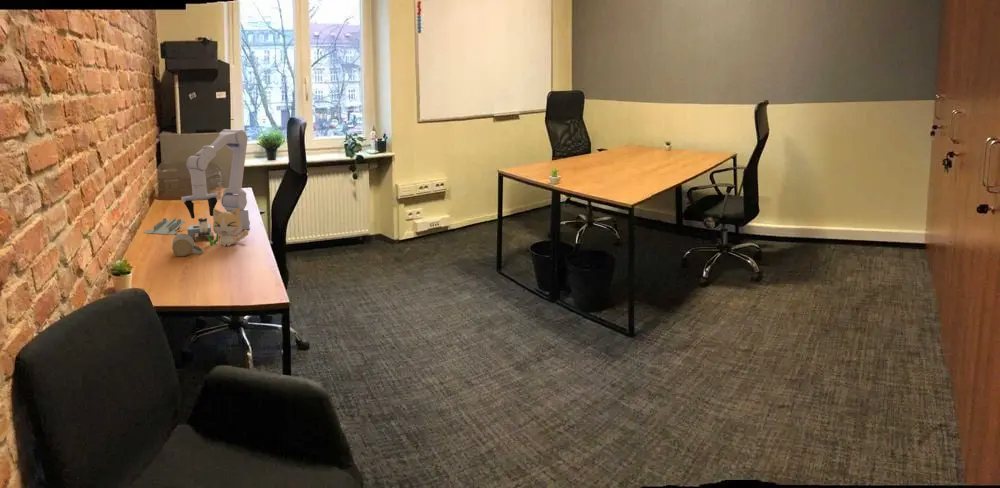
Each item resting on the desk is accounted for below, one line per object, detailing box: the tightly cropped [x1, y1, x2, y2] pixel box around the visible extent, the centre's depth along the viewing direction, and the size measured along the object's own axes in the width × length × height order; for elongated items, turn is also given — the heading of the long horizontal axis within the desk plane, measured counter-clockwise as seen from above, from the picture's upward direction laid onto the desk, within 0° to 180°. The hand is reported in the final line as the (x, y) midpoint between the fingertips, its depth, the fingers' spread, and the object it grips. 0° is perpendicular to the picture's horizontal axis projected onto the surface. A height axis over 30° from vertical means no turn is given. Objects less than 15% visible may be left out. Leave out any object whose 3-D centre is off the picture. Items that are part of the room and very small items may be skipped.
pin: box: [197, 217, 208, 236], centre depth 294 cm, size 3×3×9 cm
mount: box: [194, 231, 214, 242], centre depth 295 cm, size 7×7×2 cm
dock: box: [186, 223, 212, 238], centre depth 302 cm, size 9×8×4 cm
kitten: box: [207, 207, 249, 247], centre depth 284 cm, size 15×10×15 cm
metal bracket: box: [143, 217, 187, 236], centre depth 308 cm, size 14×6×15 cm
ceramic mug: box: [171, 233, 204, 258], centre depth 270 cm, size 11×8×8 cm
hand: (202, 216), depth 293 cm, fingers open, 7 cm apart
